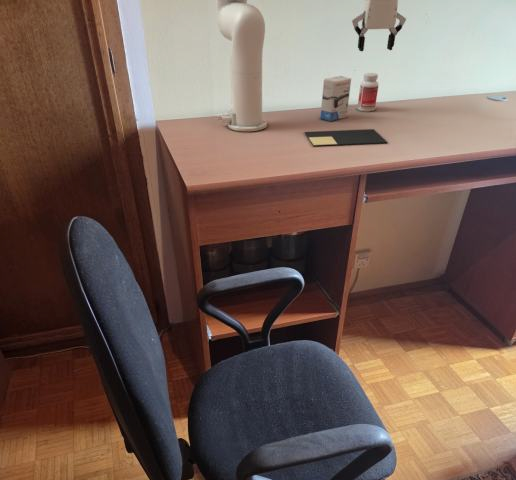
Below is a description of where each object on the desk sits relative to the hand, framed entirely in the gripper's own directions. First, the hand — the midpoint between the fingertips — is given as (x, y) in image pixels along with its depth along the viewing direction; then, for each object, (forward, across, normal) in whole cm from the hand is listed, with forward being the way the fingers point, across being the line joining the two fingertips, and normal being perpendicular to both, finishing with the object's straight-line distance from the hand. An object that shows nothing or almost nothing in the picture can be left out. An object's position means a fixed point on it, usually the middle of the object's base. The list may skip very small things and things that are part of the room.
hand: (375, 50), depth 148 cm
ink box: (+18, +14, +9) cm, 25 cm away
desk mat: (+18, +16, +31) cm, 39 cm away
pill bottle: (+18, +1, 0) cm, 18 cm away
